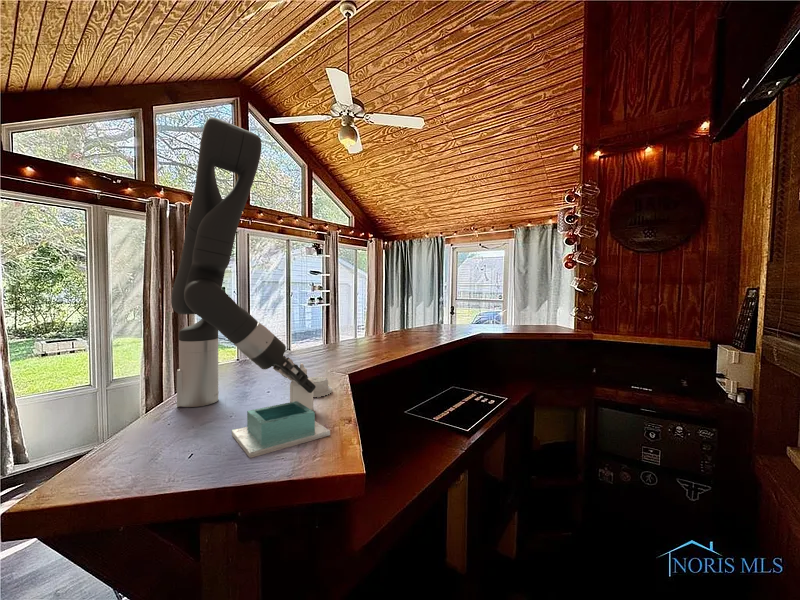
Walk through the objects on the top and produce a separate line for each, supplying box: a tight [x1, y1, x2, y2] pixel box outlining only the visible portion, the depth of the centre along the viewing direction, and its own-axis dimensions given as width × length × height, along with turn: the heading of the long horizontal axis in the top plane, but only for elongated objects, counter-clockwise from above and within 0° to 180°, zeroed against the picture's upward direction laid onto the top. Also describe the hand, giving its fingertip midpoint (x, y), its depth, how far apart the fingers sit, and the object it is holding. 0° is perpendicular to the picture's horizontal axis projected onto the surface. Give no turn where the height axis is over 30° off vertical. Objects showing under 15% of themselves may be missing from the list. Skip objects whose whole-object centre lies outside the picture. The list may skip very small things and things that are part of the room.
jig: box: [231, 401, 331, 459], centre depth 72 cm, size 16×13×5 cm
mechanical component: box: [309, 376, 333, 398], centre depth 102 cm, size 10×4×10 cm
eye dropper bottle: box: [289, 363, 314, 411], centre depth 86 cm, size 4×6×12 cm
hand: (309, 387), depth 88 cm, fingers closed on eye dropper bottle, 3 cm apart
